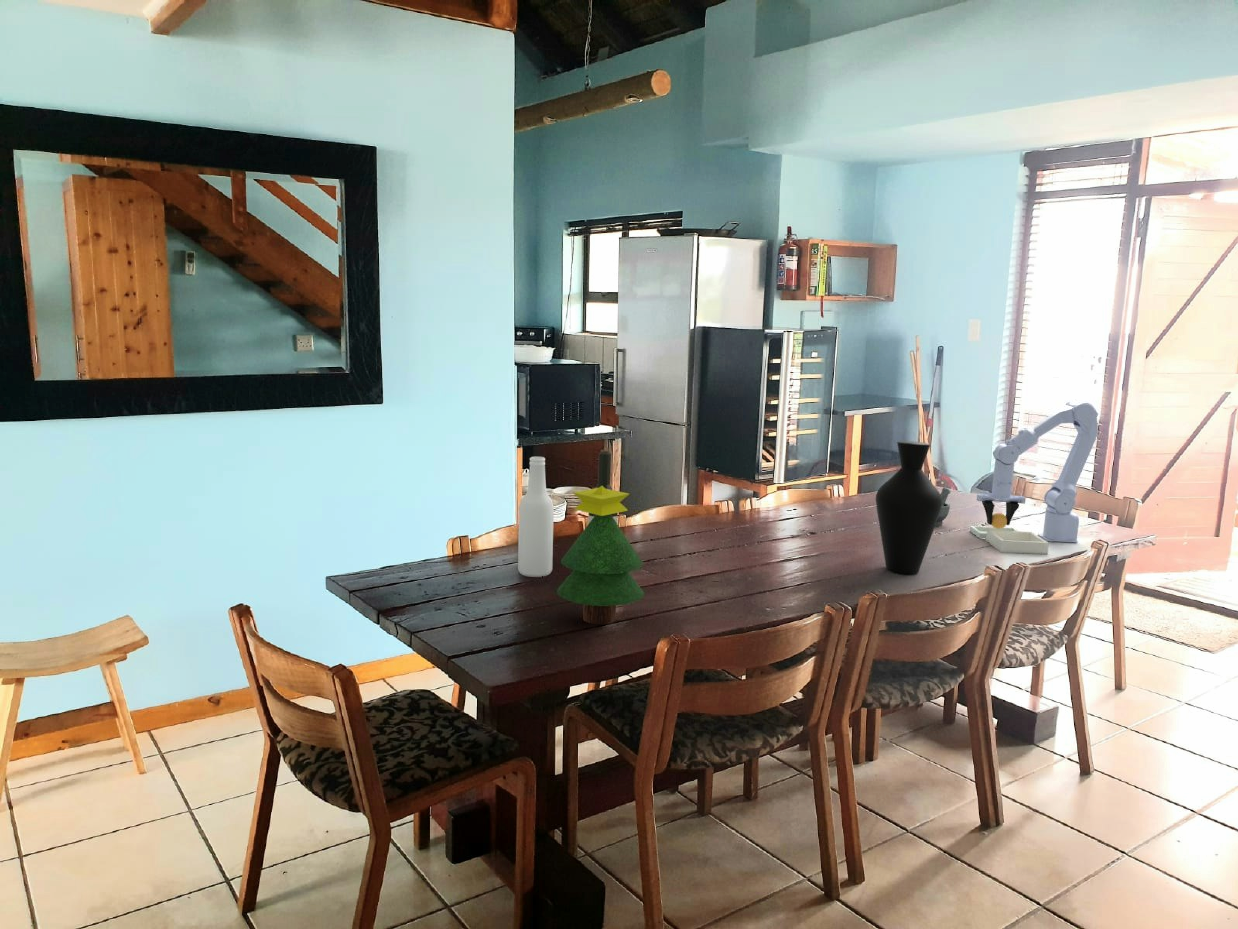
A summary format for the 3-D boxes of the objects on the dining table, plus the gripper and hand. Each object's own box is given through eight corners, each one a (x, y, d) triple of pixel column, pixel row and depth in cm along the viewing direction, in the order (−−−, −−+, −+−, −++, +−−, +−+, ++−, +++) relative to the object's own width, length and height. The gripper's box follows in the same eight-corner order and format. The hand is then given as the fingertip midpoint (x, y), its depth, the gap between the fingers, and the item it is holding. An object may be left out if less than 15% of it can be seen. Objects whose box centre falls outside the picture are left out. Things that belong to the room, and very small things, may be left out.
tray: (1013, 533, 306) (1014, 527, 306) (1025, 541, 296) (1025, 535, 296) (969, 531, 307) (970, 525, 307) (979, 538, 297) (980, 533, 297)
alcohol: (520, 567, 248) (522, 454, 243) (553, 568, 248) (556, 455, 242) (515, 576, 239) (517, 459, 234) (550, 578, 239) (553, 461, 234)
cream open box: (1030, 542, 294) (1031, 531, 294) (1047, 554, 281) (1048, 542, 280) (985, 540, 295) (987, 529, 294) (1000, 552, 281) (1002, 540, 281)
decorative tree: (601, 640, 197) (606, 499, 192) (538, 617, 209) (541, 484, 204) (660, 619, 211) (666, 487, 206) (597, 599, 223) (601, 474, 218)
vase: (926, 583, 246) (938, 450, 240) (861, 571, 255) (872, 443, 249) (942, 569, 260) (954, 443, 254) (880, 558, 269) (890, 436, 263)
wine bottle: (594, 564, 253) (597, 453, 248) (581, 556, 260) (584, 448, 255) (621, 561, 257) (626, 452, 252) (608, 553, 264) (611, 447, 259)
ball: (1002, 526, 304) (1004, 511, 303) (1008, 530, 299) (1010, 515, 298) (987, 526, 304) (988, 511, 303) (992, 530, 299) (994, 514, 298)
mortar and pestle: (933, 528, 309) (937, 492, 307) (911, 522, 317) (914, 487, 315) (957, 525, 315) (960, 490, 313) (934, 519, 322) (938, 485, 320)
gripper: (983, 483, 295) (979, 525, 297) (1030, 485, 294) (1026, 528, 297) (976, 479, 302) (972, 520, 304) (1022, 481, 301) (1017, 522, 304)
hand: (998, 524), depth 301 cm, fingers closed on ball, 5 cm apart
